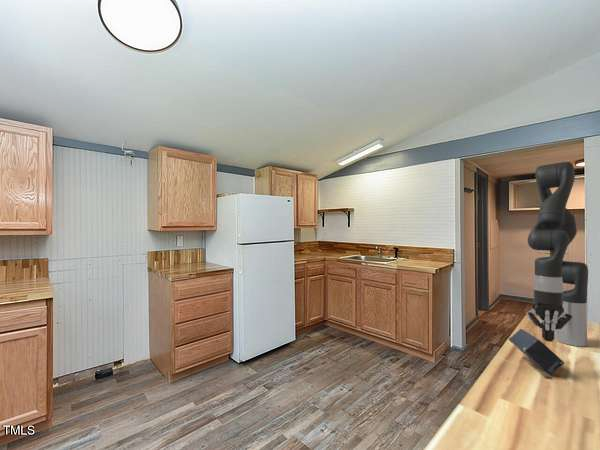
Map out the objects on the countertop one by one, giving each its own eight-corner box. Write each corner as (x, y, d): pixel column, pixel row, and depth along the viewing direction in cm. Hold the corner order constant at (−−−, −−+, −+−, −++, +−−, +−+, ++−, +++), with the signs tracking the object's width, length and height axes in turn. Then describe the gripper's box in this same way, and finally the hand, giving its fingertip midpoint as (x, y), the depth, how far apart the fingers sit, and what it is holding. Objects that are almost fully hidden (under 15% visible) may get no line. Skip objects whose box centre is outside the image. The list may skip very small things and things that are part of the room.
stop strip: (522, 358, 106) (522, 356, 106) (527, 358, 105) (527, 357, 105) (545, 378, 92) (545, 376, 92) (551, 378, 92) (551, 376, 92)
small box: (566, 362, 92) (539, 338, 94) (550, 376, 93) (523, 352, 95) (545, 348, 103) (520, 327, 104) (531, 361, 103) (507, 339, 105)
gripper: (563, 287, 100) (563, 338, 100) (519, 286, 103) (519, 335, 103) (579, 292, 93) (579, 347, 93) (531, 290, 96) (531, 343, 95)
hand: (548, 340), depth 98 cm, fingers closed
